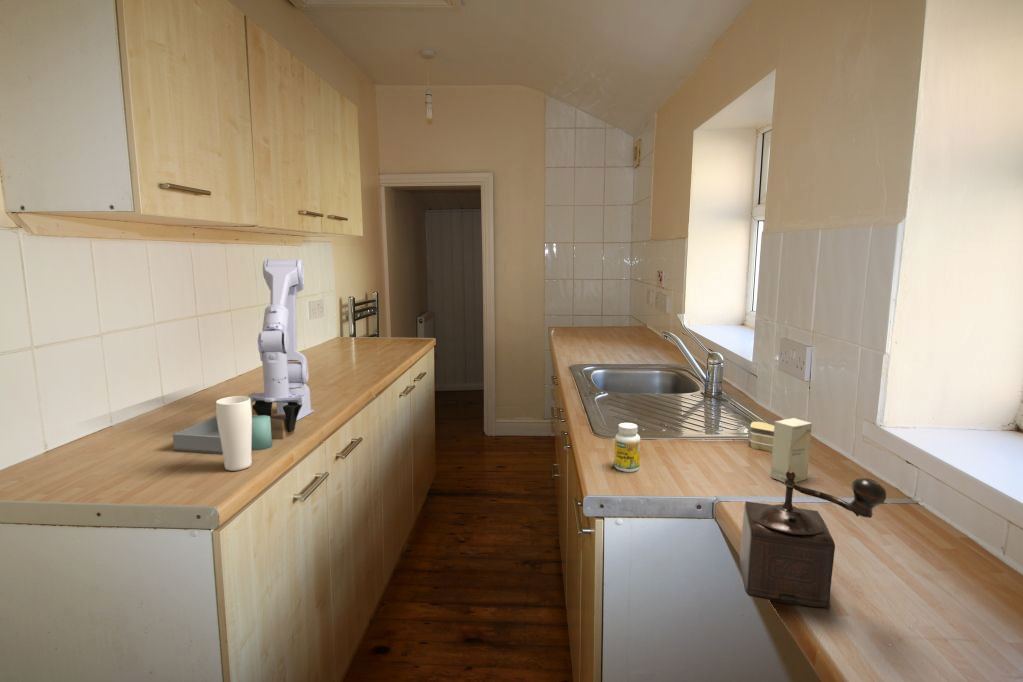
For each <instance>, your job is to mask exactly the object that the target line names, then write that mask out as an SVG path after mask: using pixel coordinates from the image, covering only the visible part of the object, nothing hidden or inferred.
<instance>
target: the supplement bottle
mask: <svg viewBox="0 0 1023 682" xmlns="http://www.w3.org/2000/svg"><path fill="white" fill-rule="evenodd" d="M638 427H639V426H638V425H637V424H636V423H632V422H621V423H619V424H618V432H617V434H615V438H614V439H615V440H614V467H615V469H617V470H618V471H620V472H626V473H631V472H637V471H638V470H639V469H640V463H641V462H640V461H641V436H640V435H639V434H638Z"/></svg>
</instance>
